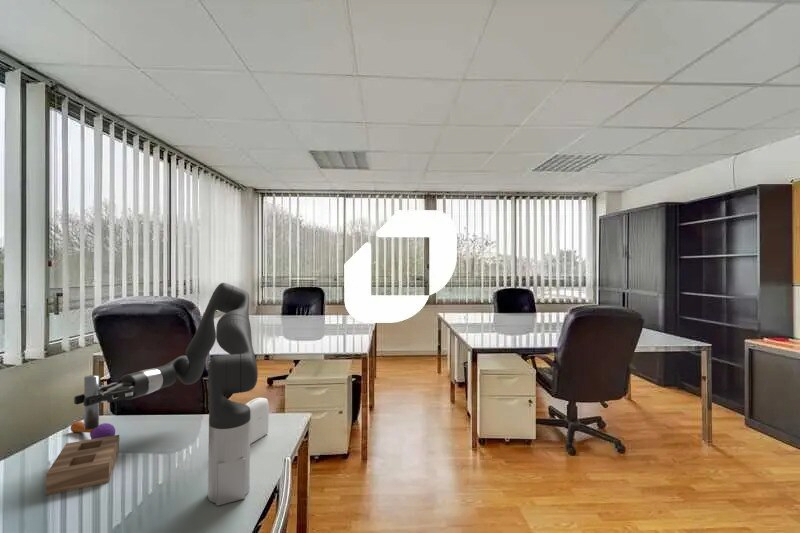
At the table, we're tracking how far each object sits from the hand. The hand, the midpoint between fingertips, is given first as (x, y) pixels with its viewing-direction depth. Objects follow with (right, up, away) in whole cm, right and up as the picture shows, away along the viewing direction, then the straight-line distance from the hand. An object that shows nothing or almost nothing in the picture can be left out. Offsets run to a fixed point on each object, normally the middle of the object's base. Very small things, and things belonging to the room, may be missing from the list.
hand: (80, 401), depth 103 cm
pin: (+1, -8, +3) cm, 8 cm away
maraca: (-12, -18, +18) cm, 28 cm away
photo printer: (+39, -19, +19) cm, 48 cm away
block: (+3, -18, -1) cm, 18 cm away
